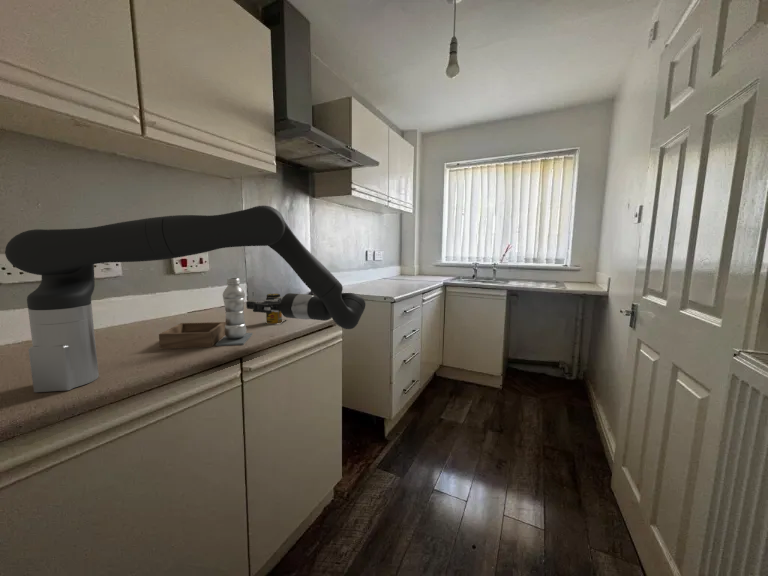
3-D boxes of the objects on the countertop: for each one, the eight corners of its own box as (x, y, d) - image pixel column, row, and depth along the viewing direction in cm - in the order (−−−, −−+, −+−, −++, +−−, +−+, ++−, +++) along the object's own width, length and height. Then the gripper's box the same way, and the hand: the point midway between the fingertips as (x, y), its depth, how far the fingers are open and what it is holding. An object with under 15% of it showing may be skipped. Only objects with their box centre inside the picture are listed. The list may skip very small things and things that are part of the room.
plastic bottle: (251, 336, 100) (249, 278, 98) (232, 342, 94) (230, 279, 92) (238, 334, 103) (236, 277, 101) (220, 338, 97) (217, 278, 95)
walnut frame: (211, 346, 91) (210, 332, 90) (159, 348, 88) (158, 334, 88) (226, 334, 104) (225, 322, 104) (182, 335, 102) (181, 323, 101)
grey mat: (243, 344, 94) (243, 342, 94) (215, 345, 92) (215, 343, 92) (252, 334, 105) (252, 332, 105) (228, 335, 104) (228, 333, 104)
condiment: (262, 324, 120) (261, 295, 118) (271, 319, 128) (270, 292, 127) (280, 325, 119) (279, 295, 118) (287, 320, 128) (287, 292, 126)
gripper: (313, 291, 95) (272, 288, 100) (285, 297, 82) (239, 293, 87) (313, 314, 96) (272, 310, 101) (285, 323, 83) (240, 318, 88)
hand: (257, 302), depth 94 cm, fingers open, 8 cm apart
